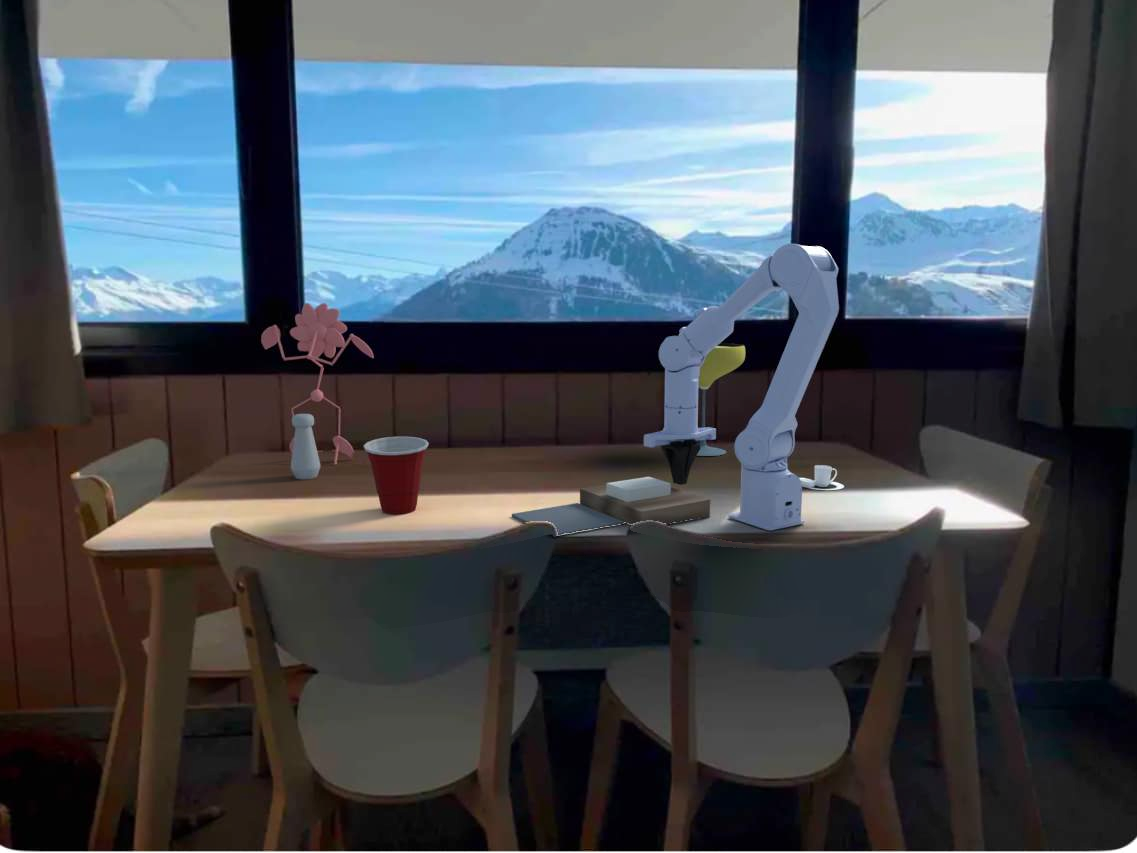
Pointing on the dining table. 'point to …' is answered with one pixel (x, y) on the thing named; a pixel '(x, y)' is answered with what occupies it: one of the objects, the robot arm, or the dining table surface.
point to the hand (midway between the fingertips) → (679, 483)
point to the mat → (569, 518)
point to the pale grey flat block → (638, 489)
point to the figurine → (318, 351)
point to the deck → (647, 506)
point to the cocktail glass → (714, 367)
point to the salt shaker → (304, 448)
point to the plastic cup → (397, 471)
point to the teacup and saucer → (821, 478)
